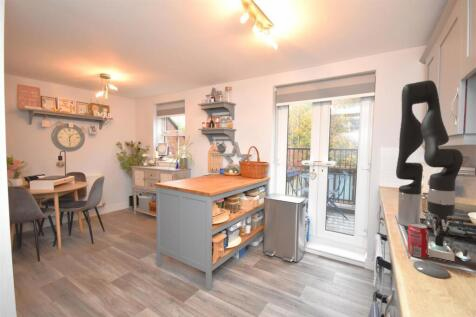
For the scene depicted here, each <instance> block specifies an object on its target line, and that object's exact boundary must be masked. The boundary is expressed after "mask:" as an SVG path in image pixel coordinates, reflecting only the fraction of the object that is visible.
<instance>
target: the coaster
mask: <svg viewBox="0 0 476 317" xmlns="http://www.w3.org/2000/svg"><path fill="white" fill-rule="evenodd" d="M412 264H413V265H412V266H413V268H414V269H415V270H416V271H418V272H419V273H421V274H424V275H427V276H429V277H432V278H438V279H446V278H449V274H450V273H449V271H448V270H447V269H446V268H444V267H443V266H441V265H438V264H435V263H432V262H429V261H423V260H418V261H414V262H413V263H412Z"/></svg>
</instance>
